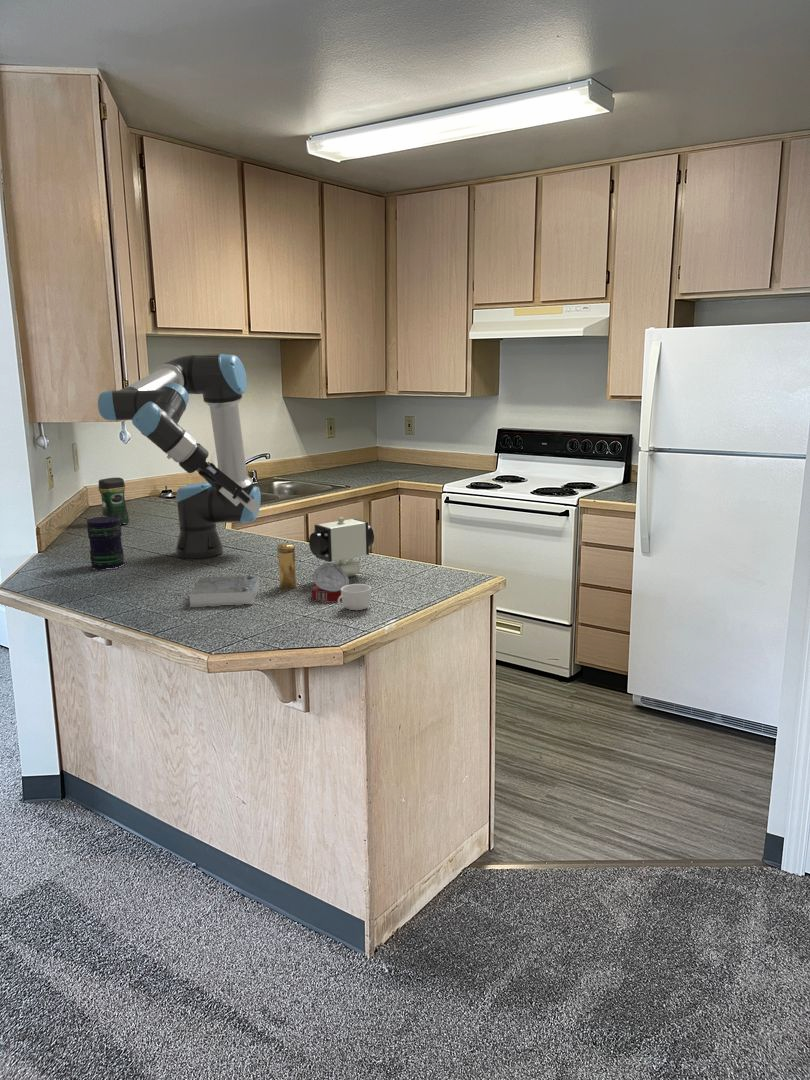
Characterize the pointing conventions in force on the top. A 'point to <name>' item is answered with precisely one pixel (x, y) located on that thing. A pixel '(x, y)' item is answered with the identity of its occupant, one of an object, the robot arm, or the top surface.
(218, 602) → the jig
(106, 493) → the coffee jar
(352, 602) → the teacup
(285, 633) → the top surface
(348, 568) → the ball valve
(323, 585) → the canned food
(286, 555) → the gold metal cylinder
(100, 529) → the storage jar
